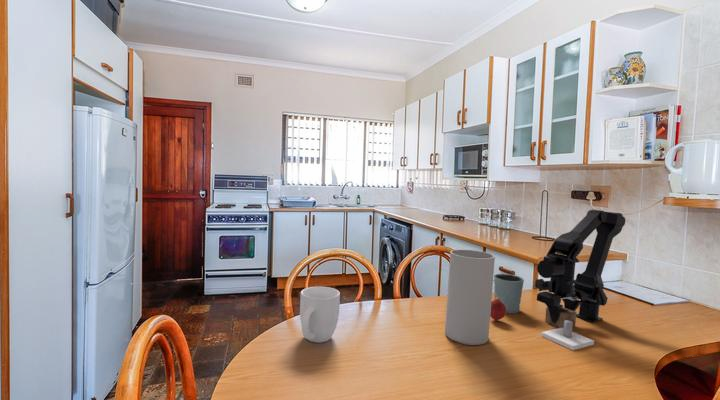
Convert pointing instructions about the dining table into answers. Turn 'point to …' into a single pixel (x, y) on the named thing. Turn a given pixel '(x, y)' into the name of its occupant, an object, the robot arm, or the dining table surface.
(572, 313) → the collar
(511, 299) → the grey-blue tapered cup
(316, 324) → the mug
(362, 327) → the dining table surface
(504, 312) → the onion
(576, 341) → the post base
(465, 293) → the cylinder vase
